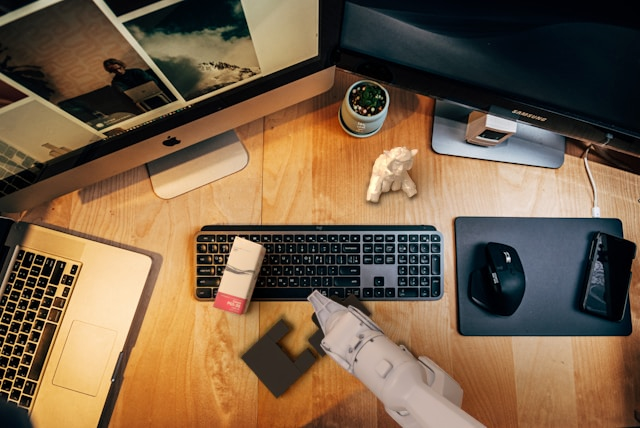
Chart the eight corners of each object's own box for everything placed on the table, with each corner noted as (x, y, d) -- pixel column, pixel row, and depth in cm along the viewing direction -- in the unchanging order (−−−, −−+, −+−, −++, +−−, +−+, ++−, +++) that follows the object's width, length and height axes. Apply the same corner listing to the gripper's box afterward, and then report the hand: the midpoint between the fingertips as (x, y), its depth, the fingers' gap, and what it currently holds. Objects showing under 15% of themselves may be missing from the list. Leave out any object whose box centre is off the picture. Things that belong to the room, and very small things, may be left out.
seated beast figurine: (366, 204, 81) (376, 191, 69) (358, 160, 82) (367, 139, 70) (416, 197, 81) (434, 182, 70) (407, 153, 83) (424, 130, 71)
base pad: (316, 357, 76) (316, 360, 73) (277, 394, 75) (276, 399, 72) (281, 318, 77) (280, 319, 74) (243, 354, 76) (240, 357, 73)
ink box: (240, 316, 69) (263, 244, 71) (210, 307, 69) (234, 235, 71) (247, 312, 77) (267, 248, 79) (220, 304, 77) (241, 240, 79)
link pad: (369, 312, 78) (371, 313, 75) (323, 356, 76) (324, 359, 73) (351, 293, 78) (353, 293, 75) (305, 336, 77) (306, 339, 74)
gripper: (291, 313, 63) (294, 309, 76) (361, 391, 61) (351, 372, 75) (327, 279, 64) (323, 281, 77) (397, 355, 62) (381, 343, 76)
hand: (339, 324), depth 76 cm, fingers closed on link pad, 4 cm apart
